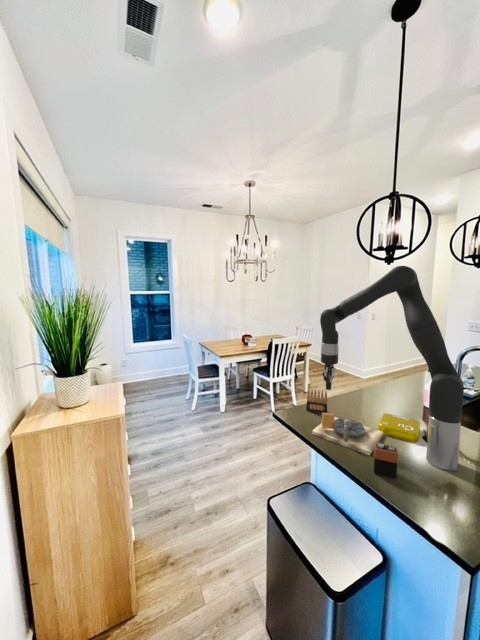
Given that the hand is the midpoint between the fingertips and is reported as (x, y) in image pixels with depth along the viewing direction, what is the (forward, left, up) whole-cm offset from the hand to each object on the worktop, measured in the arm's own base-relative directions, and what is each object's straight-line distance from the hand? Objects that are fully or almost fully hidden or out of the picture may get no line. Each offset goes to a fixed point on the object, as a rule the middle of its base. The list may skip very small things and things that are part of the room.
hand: (328, 389), depth 124 cm
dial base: (-10, +1, -18) cm, 21 cm away
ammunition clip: (+11, -12, -18) cm, 24 cm away
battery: (-29, +18, -18) cm, 39 cm away
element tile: (-26, -18, -19) cm, 36 cm away
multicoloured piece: (-8, +3, -15) cm, 17 cm away
